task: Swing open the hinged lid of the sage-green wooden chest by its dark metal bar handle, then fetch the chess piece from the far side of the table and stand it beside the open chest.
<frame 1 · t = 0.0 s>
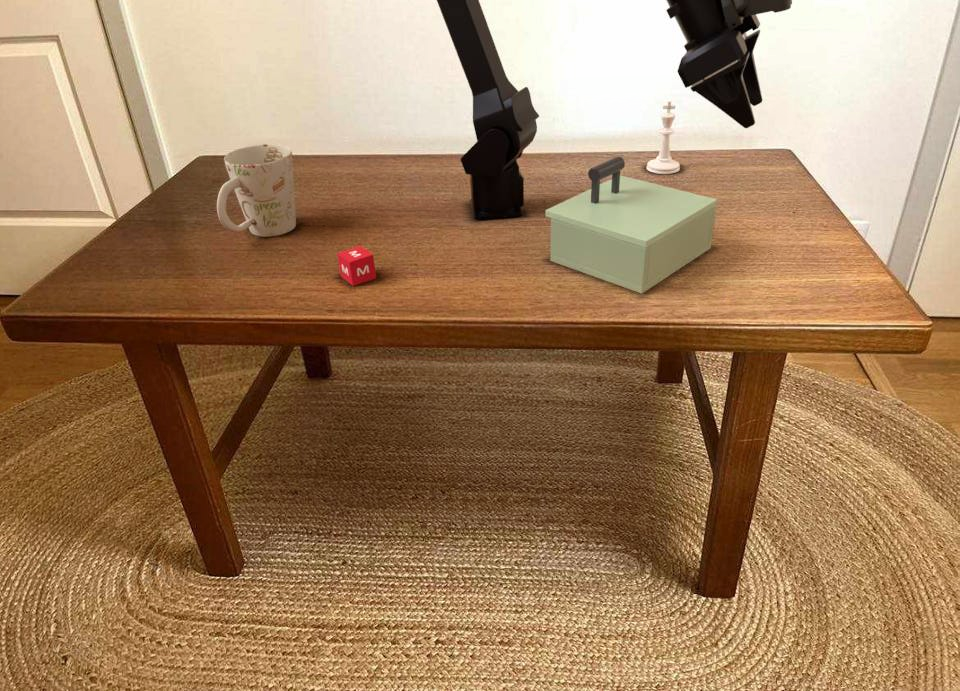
hand: (754, 114, 80), 15 cm above the table, tool tilted 35°, fingers open, 9 cm apart
mug: (263, 235, 95), on the table
lid: (632, 190, 82), point 8 cm above the table, hinge at 0.0°
chest: (630, 254, 86), on the table
chess piece: (662, 169, 110), on the table
red letter cube: (358, 279, 83), on the table
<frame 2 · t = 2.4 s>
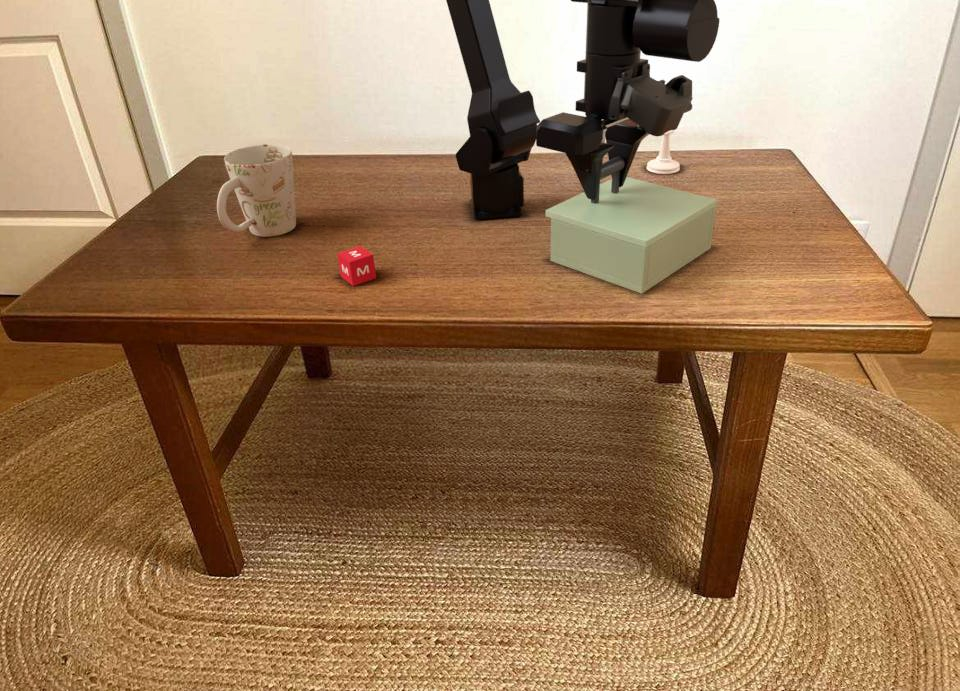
hand: (605, 192, 84), 7 cm above the table, tool pointing down, fingers closed on lid, 5 cm apart
lid: (632, 190, 82), point 8 cm above the table, hinge at 0.0°, touching gripper
everything else where it was.
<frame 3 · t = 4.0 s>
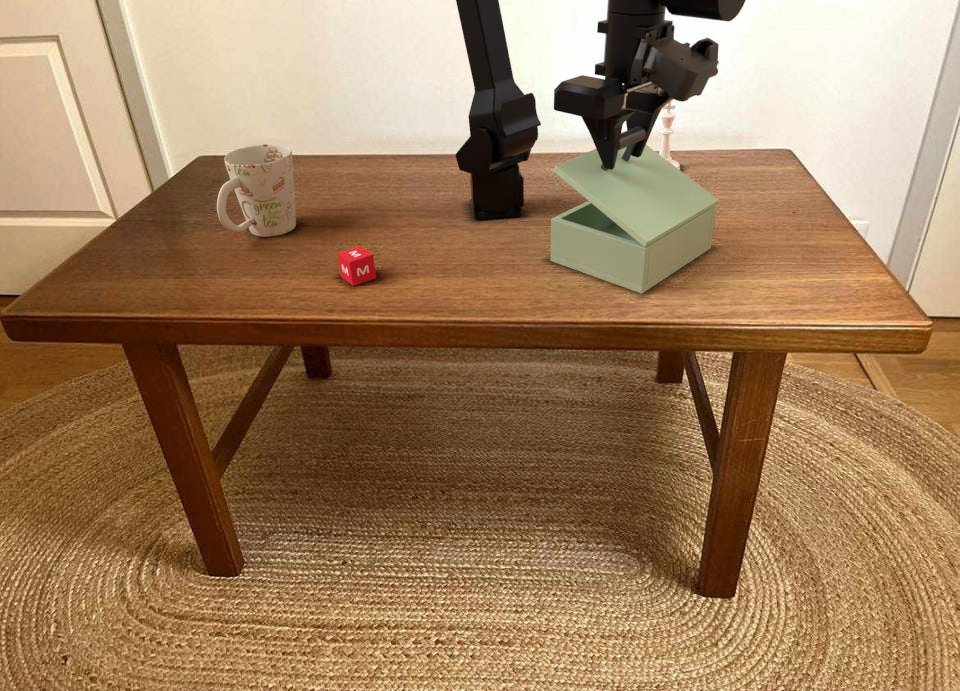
hand: (622, 162, 81), 11 cm above the table, tool pointing down, fingers closed on lid, 5 cm apart
lid: (645, 170, 79), point 10 cm above the table, hinge at 24.2°, touching gripper
everything else where it was.
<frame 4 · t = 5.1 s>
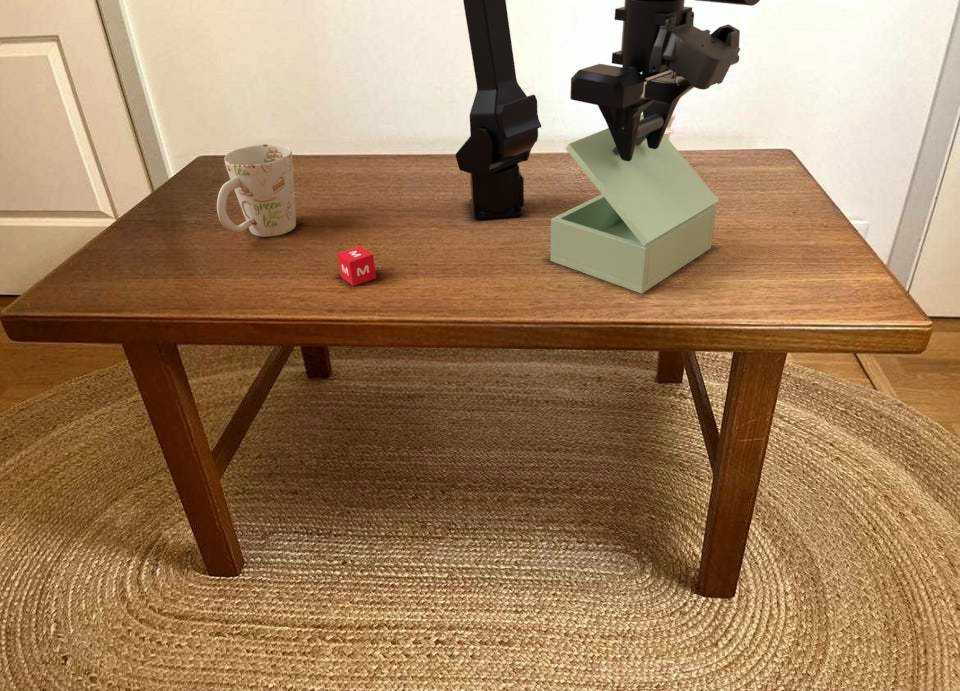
hand: (639, 154, 79), 12 cm above the table, tool pointing down, fingers closed on lid, 5 cm apart
lid: (656, 163, 78), point 12 cm above the table, hinge at 38.0°, touching gripper
everything else where it was.
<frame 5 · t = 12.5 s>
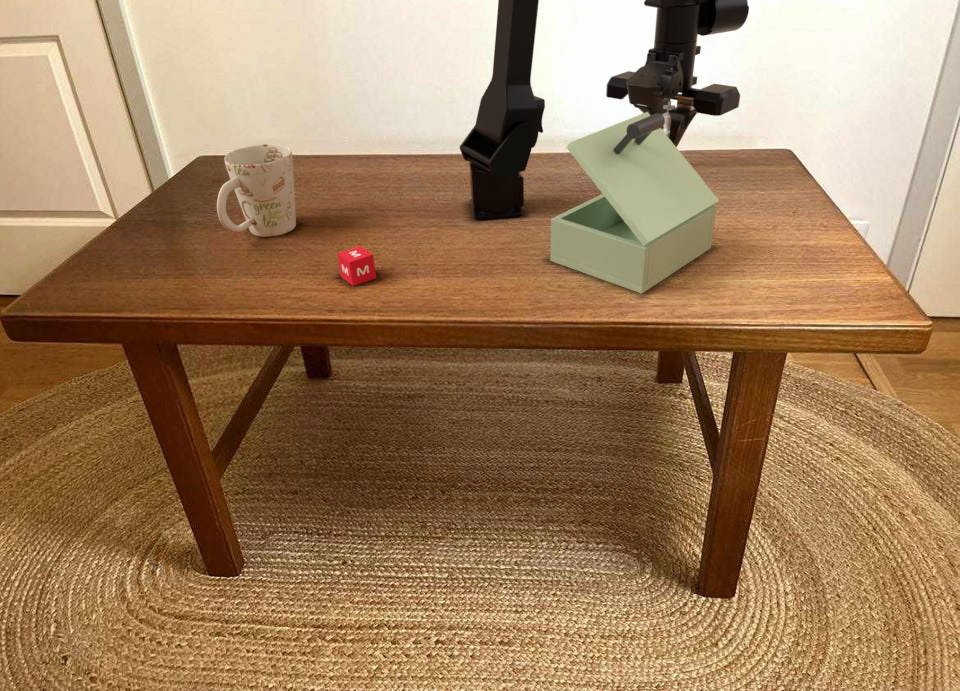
hand: (664, 151, 108), 3 cm above the table, tool pointing down, fingers closed on chess piece
lid: (657, 162, 78), point 12 cm above the table, hinge at 38.9°
chess piece: (662, 170, 110), on the table, touching gripper
everything else where it was.
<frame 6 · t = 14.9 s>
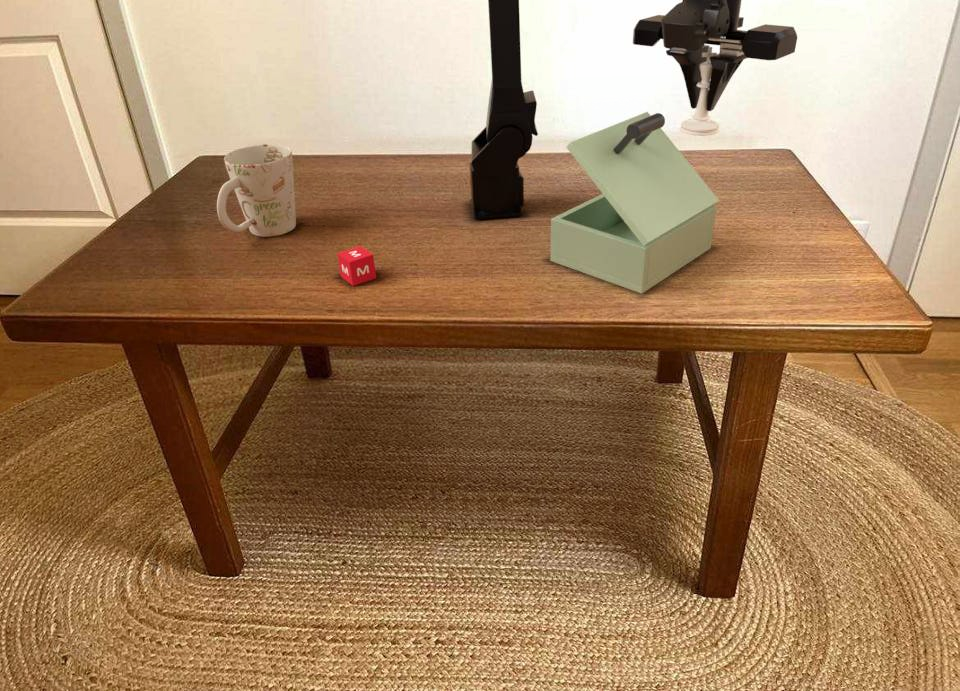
hand: (702, 109, 92), 12 cm above the table, tool pointing down, fingers closed on chess piece
chess piece: (699, 131, 93), point 10 cm above the table, touching gripper
everything else where it was.
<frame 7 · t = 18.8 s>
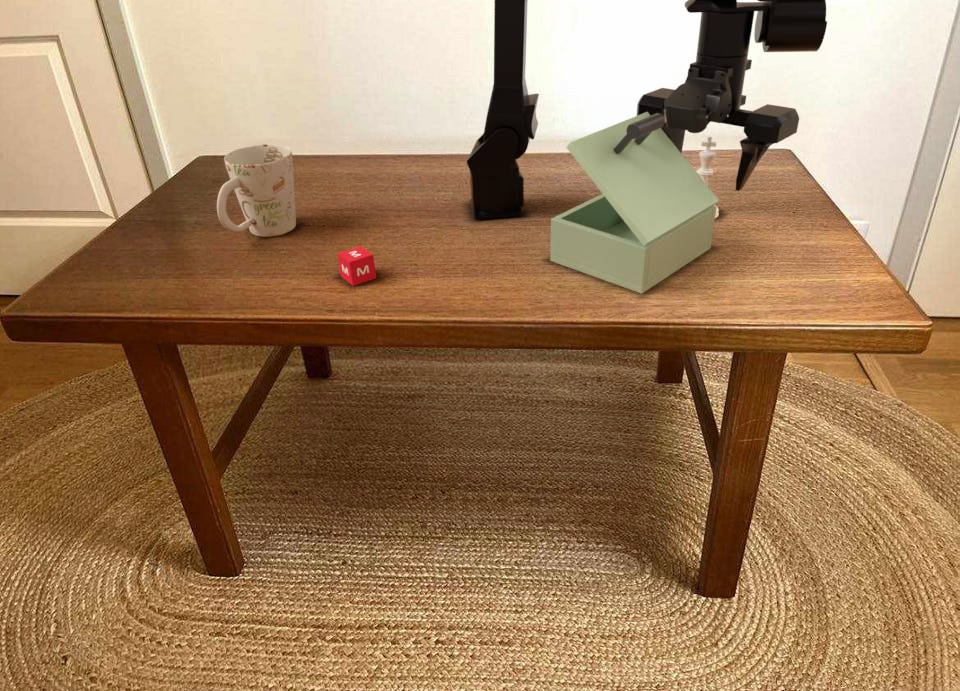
hand: (705, 181, 93), 4 cm above the table, tool pointing down, fingers open, 9 cm apart
chess piece: (698, 214, 95), on the table
everything else where it was.
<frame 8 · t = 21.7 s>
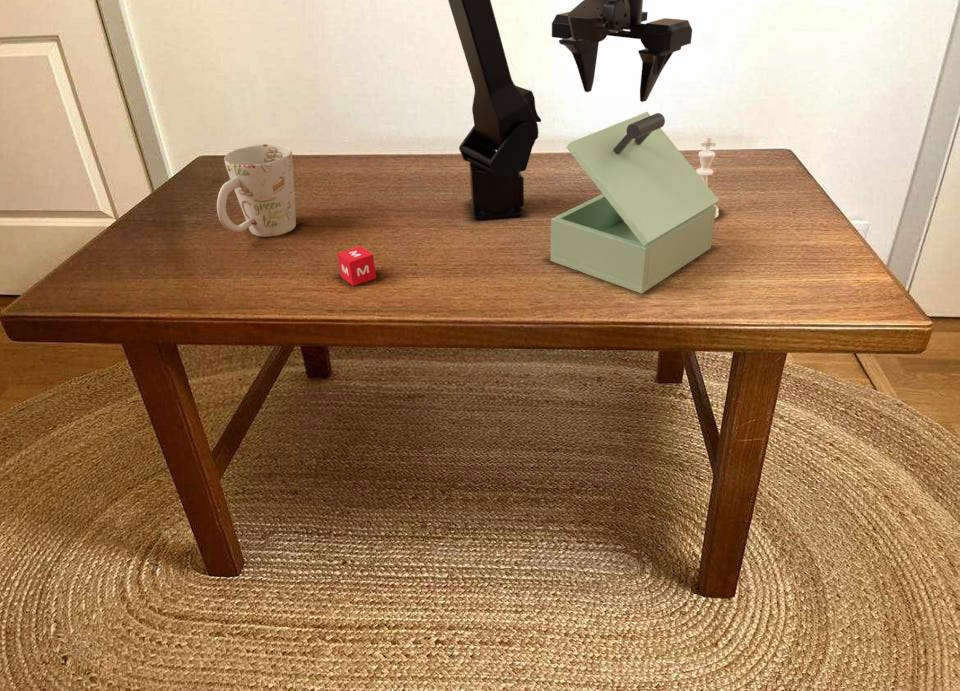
hand: (614, 96, 100), 12 cm above the table, tool pointing down, fingers open, 9 cm apart
nothing on the table moved.
at the end: lid at +39° (first picture: +0°); chess piece inside the target area on the table beside the chest (0.2 cm from its centre), on the table; chess piece tilted 0° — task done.
